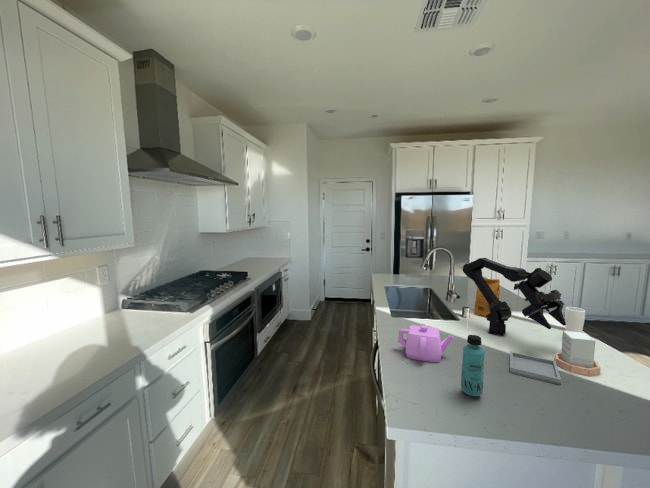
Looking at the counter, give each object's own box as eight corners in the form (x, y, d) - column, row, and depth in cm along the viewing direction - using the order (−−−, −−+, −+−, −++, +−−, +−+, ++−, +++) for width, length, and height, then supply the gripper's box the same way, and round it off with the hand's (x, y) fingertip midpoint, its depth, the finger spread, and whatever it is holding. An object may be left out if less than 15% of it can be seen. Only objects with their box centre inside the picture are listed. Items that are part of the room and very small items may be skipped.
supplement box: (582, 363, 112) (585, 332, 110) (593, 373, 105) (596, 340, 103) (559, 360, 114) (562, 330, 113) (568, 369, 107) (571, 337, 106)
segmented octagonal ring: (557, 369, 108) (557, 362, 107) (553, 355, 118) (553, 349, 118) (602, 379, 101) (603, 372, 100) (594, 363, 111) (594, 357, 111)
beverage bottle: (456, 389, 96) (458, 332, 94) (475, 387, 97) (477, 331, 95) (467, 401, 90) (470, 341, 88) (487, 400, 90) (490, 340, 88)
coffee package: (477, 310, 173) (479, 274, 170) (500, 315, 164) (502, 278, 161) (471, 314, 166) (473, 277, 163) (495, 320, 157) (497, 281, 154)
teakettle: (394, 350, 125) (395, 322, 123) (423, 341, 132) (424, 316, 131) (423, 368, 109) (424, 338, 108) (454, 358, 117) (455, 329, 115)
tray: (510, 372, 106) (510, 367, 105) (510, 355, 118) (510, 351, 118) (560, 385, 98) (561, 379, 98) (555, 365, 110) (555, 360, 110)
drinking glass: (586, 344, 127) (589, 312, 125) (569, 343, 128) (571, 311, 127) (576, 337, 134) (579, 307, 132) (559, 336, 135) (562, 306, 133)
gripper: (531, 285, 115) (559, 321, 105) (560, 281, 121) (590, 314, 112) (511, 299, 123) (536, 333, 114) (540, 294, 129) (566, 326, 120)
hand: (557, 327), depth 115 cm, fingers open, 9 cm apart
